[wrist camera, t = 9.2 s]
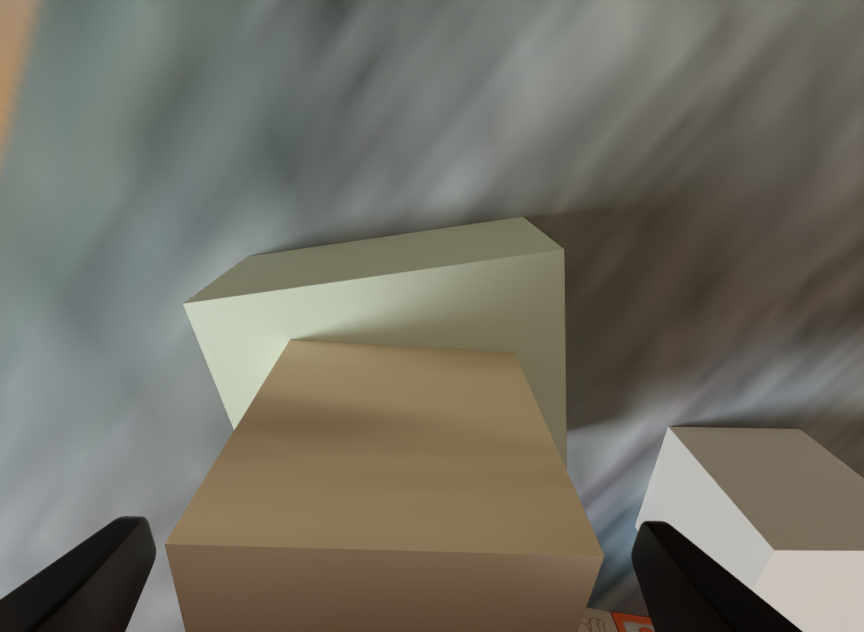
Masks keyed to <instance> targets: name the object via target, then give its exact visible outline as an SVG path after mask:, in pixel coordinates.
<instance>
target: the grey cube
mask: <svg viewBox="0 0 864 632" xmlns="http://www.w3.org/2000/svg"><path fill="white" fill-rule="evenodd" d="M644 521H664V522H667V523H669V524H670V525H672V526H673V527H674V528H675V529H676V530H678V531H679V532H680V533H681V534H683V535H684V536H685V537H686V538H688V539H689V540H690V541H691V542H693V543H694V544H695V545H696V546H698V547H699V548H700V549H701V550H702V551H704V552H705V553H706V554H707V555H709V556H710V557H711V558H712V559H714V560H715V561H716V562H717V563H719V564H720V565H721V566H722V567H724V568H725V569H726V570H727V571H729V572H730V573H731V574H732V575H733V576H735V577H736V578H737V579H738V580H740V581H741V582H742V583H743V584H745V585H746V586H747V587H748V588H750V589H751V590H752V591H753V592H755V593H756V594H757V595H758V596H760V597H761V598H762V599H763V600H764V601H766V602H767V603H768V604H769V605H771V606H772V607H773V608H774V609H776V610H777V611H778V612H779V613H781V614H782V615H783V616H784V617H786V618H787V619H788V620H789V621H791V622H792V623H793V624H794V625H795V626H797V627H798V628H799V629H800V630H802V631H803V632H864V478H863V477H861V476H860V475H859V474H858V473H856V472H855V471H854V470H852V469H851V468H850V467H848V466H847V465H846V464H845V463H843V462H842V461H841V460H839V459H838V458H837V457H836V456H834V455H833V454H832V453H830V452H829V451H828V450H826V449H825V448H824V447H823V446H821V445H820V444H819V443H817V442H816V441H815V440H814V439H812V438H811V437H810V436H808V435H807V434H806V433H804V432H803V431H802V430H801V429H767V428H713V427H668V429H667V432H666V435H665V438H664V441H663V444H662V447H661V450H660V453H659V456H658V459H657V462H656V465H655V468H654V471H653V474H652V477H651V480H650V483H649V486H648V489H647V492H646V495H645V498H644V501H643V504H642V507H641V510H640V513H639V516H638V519H637V522H636V525H635V527H636V529H637V531H639V528H640V525H641V524H642V523H643V522H644Z"/></svg>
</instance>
